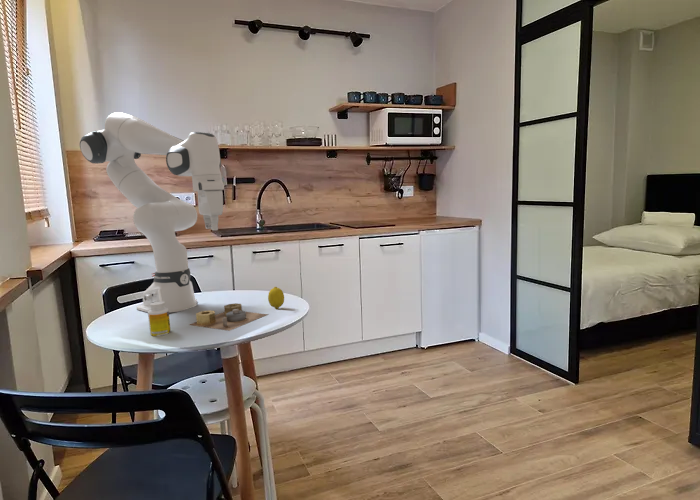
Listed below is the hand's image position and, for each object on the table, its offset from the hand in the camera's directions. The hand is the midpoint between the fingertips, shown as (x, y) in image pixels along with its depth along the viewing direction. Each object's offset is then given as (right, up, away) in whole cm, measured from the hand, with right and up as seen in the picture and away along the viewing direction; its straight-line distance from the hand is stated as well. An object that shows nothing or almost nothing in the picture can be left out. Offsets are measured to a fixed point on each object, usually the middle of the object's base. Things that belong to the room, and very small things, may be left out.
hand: (211, 229), depth 143 cm
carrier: (+5, -30, +2) cm, 30 cm away
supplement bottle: (-12, -32, -9) cm, 36 cm away
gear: (-2, -29, 0) cm, 29 cm away
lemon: (+18, -27, +16) cm, 36 cm away
